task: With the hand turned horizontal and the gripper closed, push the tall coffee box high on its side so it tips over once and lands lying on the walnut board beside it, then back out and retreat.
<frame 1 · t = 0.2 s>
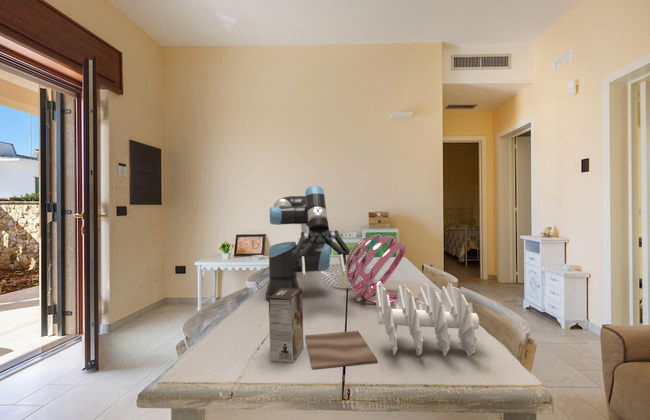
hand: (324, 274, 103), 15 cm above the table, tool tilted 35°, fingers open, 13 cm apart
walnut board: (338, 348, 81), on the table
spiral staircase: (427, 352, 79), on the table
spiral basket: (377, 299, 124), on the table
candle: (411, 322, 99), on the table
coffee box: (287, 354, 79), on the table
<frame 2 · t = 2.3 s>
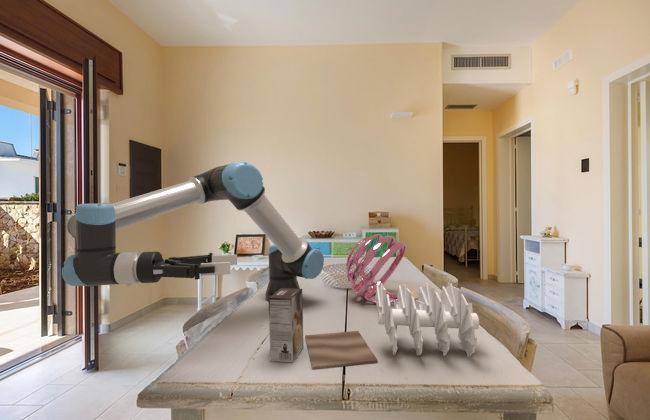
hand: (233, 263, 77), 24 cm above the table, tool horizontal, fingers open, 12 cm apart
nothing on the table moved.
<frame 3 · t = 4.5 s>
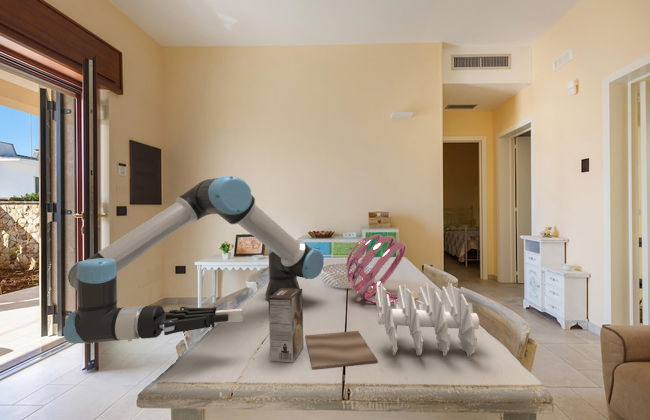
hand: (242, 314, 77), 11 cm above the table, tool horizontal, fingers closed
nothing on the table moved.
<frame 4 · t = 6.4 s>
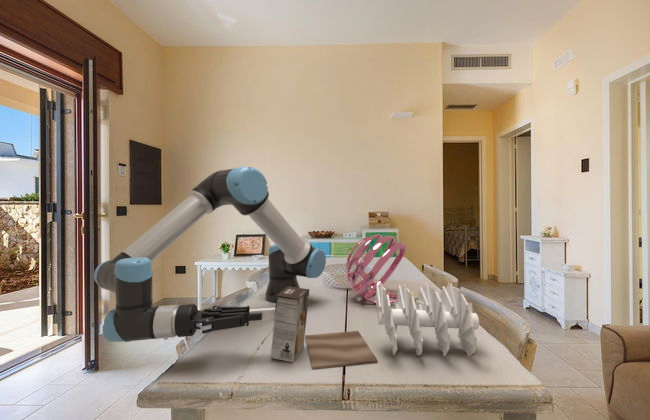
hand: (275, 313, 78), 11 cm above the table, tool horizontal, fingers closed
coffee box: (287, 352, 79), on the table, touching gripper
everything else where it was.
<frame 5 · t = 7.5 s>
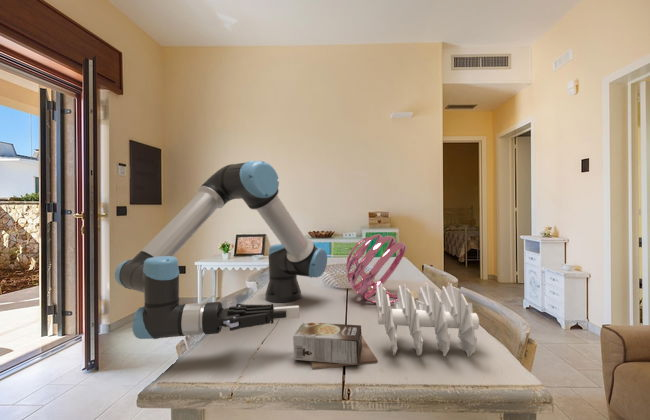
hand: (298, 311, 79), 11 cm above the table, tool horizontal, fingers closed
coffee box: (297, 339, 78), point 4 cm above the table, touching walnut board
everything else where it was.
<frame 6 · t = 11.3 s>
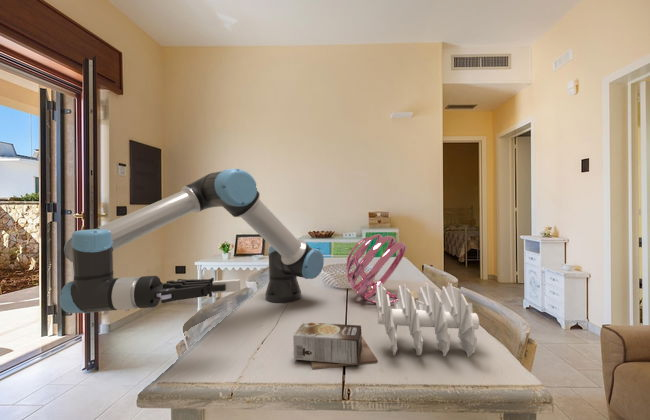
hand: (239, 285, 77), 19 cm above the table, tool horizontal, fingers closed
nothing on the table moved.
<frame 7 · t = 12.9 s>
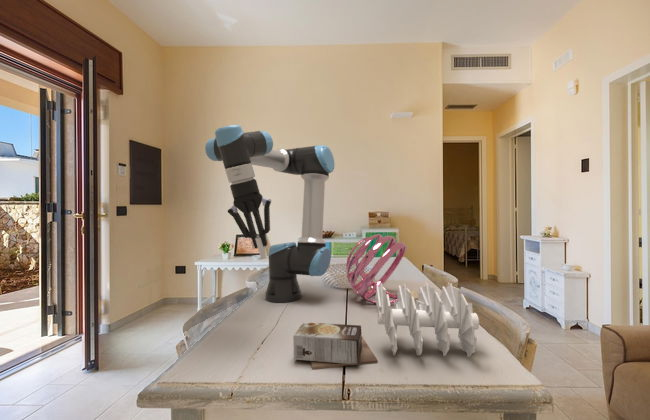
hand: (264, 256, 91), 23 cm above the table, tool tilted 15°, fingers closed
nothing on the table moved.
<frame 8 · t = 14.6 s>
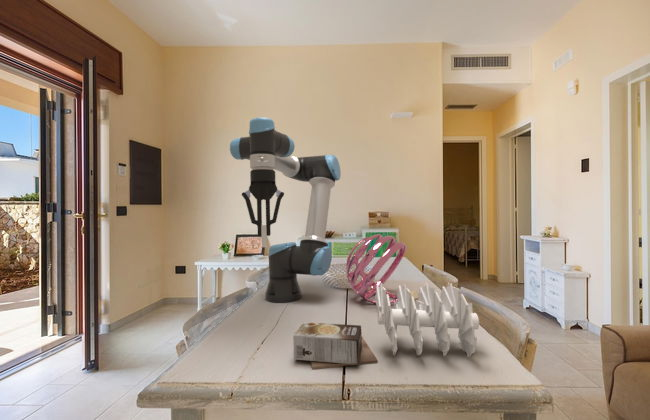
hand: (264, 246, 93), 26 cm above the table, tool pointing down, fingers closed
nothing on the table moved.
at the end: coffee box tilted 90°; coffee box touching walnut board; coffee box inside the target area (4.5 cm from its centre), point 3.8 cm above the table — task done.
